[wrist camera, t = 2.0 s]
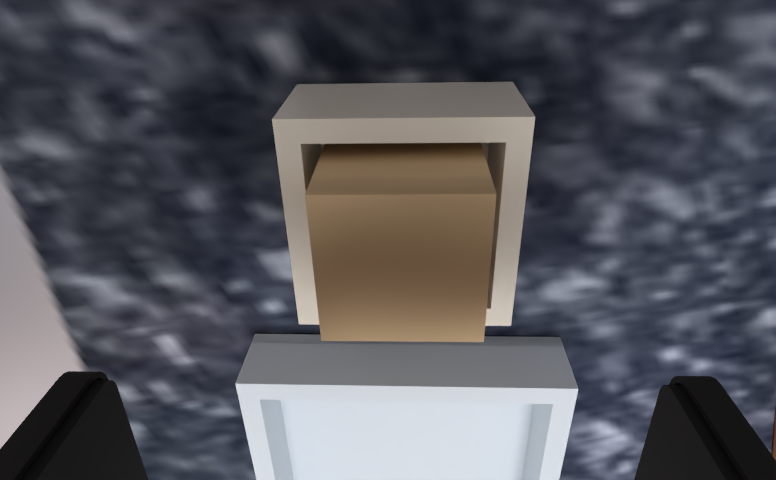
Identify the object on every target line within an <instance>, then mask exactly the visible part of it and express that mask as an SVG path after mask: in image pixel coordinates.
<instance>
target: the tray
mask: <svg viewBox="0 0 776 480" xmlns="http://www.w3.org/2000/svg"><path fill="white" fill-rule="evenodd" d="M235 384H236V389H237V393H238V398H239V402H240V407H241V411H242V416H243V420H244V425H245V429H246V434H247V439H248V443H249V448H250V452H251V457H252V461H253V466H254V470H255V475H256V479H257V480H559V478H560V473H561V468H562V464H563V459H564V454H565V450H566V445H567V440H568V435H569V431H570V426H571V421H572V417H573V412H574V407H575V402H576V398H577V393H578V386H577V384H576V381H575V378H574V375H573V372H572V369H571V367H570V364H569V361H568V358H567V355H566V353H565V350H564V347H563V344H562V341H561V338H560V337H510V336H484V342H405V341H321V334H255V335H254V337H253V340H252V342H251V345H250V348H249V350H248V353H247V355H246V358H245V360H244V363H243V366H242V368H241V371H240V373H239V376H238V378H237V381H236V383H235Z"/></svg>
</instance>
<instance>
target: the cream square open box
mask: <svg viewBox="0 0 776 480" xmlns="http://www.w3.org/2000/svg"><path fill="white" fill-rule="evenodd" d="M272 123H273V131H274V139H275V146H276V154H277V161H278V169H279V177H280V184H281V192H282V199H283V207H284V215H285V222H286V230H287V237H288V245H289V253H290V260H291V268H292V275H293V283H294V291H295V298H296V306H297V313H298V321H299V324H315V325H319V317H318V308H317V299H316V290H315V281H314V272H313V263H312V254H311V245H310V236H309V227H308V219H307V210H306V201H305V193H306V191H307V188H308V186H309V183H310V180H311V178H312V175H313V173H314V170H315V168H316V165H317V163H318V160H319V157H320V155H321V152H322V150H323V147H324V145H325V144H355V143H481V145H482V148H483V151H484V155H485V158H486V161H487V164H488V168H489V171H490V174H491V177H492V181H493V184H494V187H495V190H496V194H497V196H496V207H495V219H494V230H493V242H492V253H491V265H490V277H489V288H488V300H487V311H486V323H485V326H511V321H512V312H513V304H514V295H515V286H516V278H517V269H518V261H519V252H520V244H521V235H522V227H523V218H524V210H525V201H526V192H527V184H528V175H529V167H530V158H531V150H532V141H533V133H534V124H535V115H534V114H533V112H532V111H531V109H530V108H529V106H528V105H527V103H526V101H525V100H524V98H523V97H522V95H521V94H520V92H519V91H518V89H517V88H516V86H515V84H514V83H513V82H445V83H356V84H297V85H296V87H295V88H294V89H293V91H292V92H291V94H290V95H289V96H288V98H287V99H286V100H285V102H284V103H283V105H282V106H281V107H280V109H279V110H278V112H277V113H276V114H275V116H274V117H273V118H272Z"/></svg>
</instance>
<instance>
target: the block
mask: <svg viewBox="0 0 776 480" xmlns="http://www.w3.org/2000/svg"><path fill="white" fill-rule="evenodd" d="M496 196H497V194H496V190H495V187H494V184H493V181H492V177H491V174H490V171H489V168H488V164H487V161H486V158H485V155H484V151H483V148H482V145H481V143H355V144H325V145H324V147H323V150H322V152H321V155H320V157H319V160H318V163H317V165H316V168H315V170H314V173H313V175H312V178H311V180H310V183H309V186H308V188H307V191H306V193H305V201H306V210H307V219H308V227H309V236H310V245H311V254H312V263H313V272H314V281H315V290H316V299H317V308H318V317H319V326H320V334H321V341H405V342H484V334H485V323H486V311H487V300H488V288H489V277H490V265H491V253H492V242H493V230H494V219H495V207H496Z"/></svg>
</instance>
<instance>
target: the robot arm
mask: <svg viewBox="0 0 776 480" xmlns="http://www.w3.org/2000/svg"><path fill="white" fill-rule="evenodd" d="M0 480H148V478H147V475H146V472H145V469H144V466H143V463H142V460H141V457H140V454H139V451H138V448H137V445H136V442H135V439H134V436H133V433H132V430H131V427H130V424H129V421H128V418H127V415H126V412H125V409H124V406H123V403H122V400H121V397H120V394H119V391H118V388H117V385H116V383H115V382H114V381H111V380H108V378H107V376H106V375H105V374H104V373H103V372H66V373H64V374H63V375H62V376H61V377H59V379H58V380H57V381H56V382H55V383H54V385H53V386H52V387H51V388H50V389H49V391H48V392H47V393H46V394H45V396H44V397H43V398H42V399H41V400H40V402H39V403H38V404H37V405H36V407H35V408H34V409H33V410H32V411H31V413H30V414H29V415H28V416H27V417H26V419H25V420H24V421H23V422H22V424H21V425H20V426H19V427H18V428H17V430H16V431H15V432H14V433H13V434H12V436H11V437H10V438H9V439H8V441H7V442H6V443H5V444H4V445H3V447H2V448H1V449H0ZM634 480H776V460H775V459H774V457H773V456H772V455H771V453H770V452H769V451H768V449H767V448H766V446H765V445H764V444H763V442H762V441H761V439H760V438H759V437H758V435H757V434H756V433H755V431H754V430H753V428H752V427H751V426H750V424H749V423H748V421H747V420H746V419H745V417H744V416H743V415H742V413H741V412H740V410H739V409H738V408H737V406H736V405H735V403H734V402H733V401H732V399H731V398H730V397H729V395H728V394H727V392H726V391H725V390H724V388H723V387H722V385H721V384H720V383H719V382H718V381H717V380H716V379H715V378H713V377H711V376H676V377H674V378H673V379H672V380H671V382H670V384H669V385H663V386H662V387H661V389H660V391H659V395H658V399H657V402H656V406H655V409H654V413H653V416H652V420H651V423H650V427H649V430H648V434H647V437H646V441H645V444H644V448H643V451H642V455H641V458H640V462H639V465H638V469H637V472H636V476H635V479H634Z"/></svg>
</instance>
